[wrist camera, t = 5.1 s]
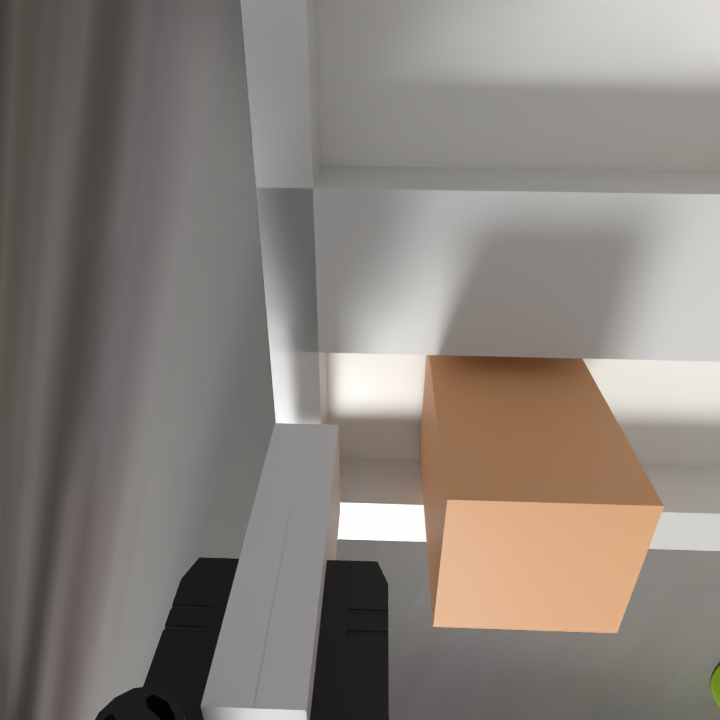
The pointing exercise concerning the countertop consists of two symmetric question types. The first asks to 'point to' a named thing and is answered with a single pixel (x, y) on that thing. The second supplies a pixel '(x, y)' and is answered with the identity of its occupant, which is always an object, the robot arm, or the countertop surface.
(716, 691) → the soap dispenser
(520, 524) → the orange rectangular block
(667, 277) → the grey compartment tray
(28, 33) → the countertop surface
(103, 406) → the countertop surface
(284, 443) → the robot arm
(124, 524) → the countertop surface
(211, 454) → the countertop surface
